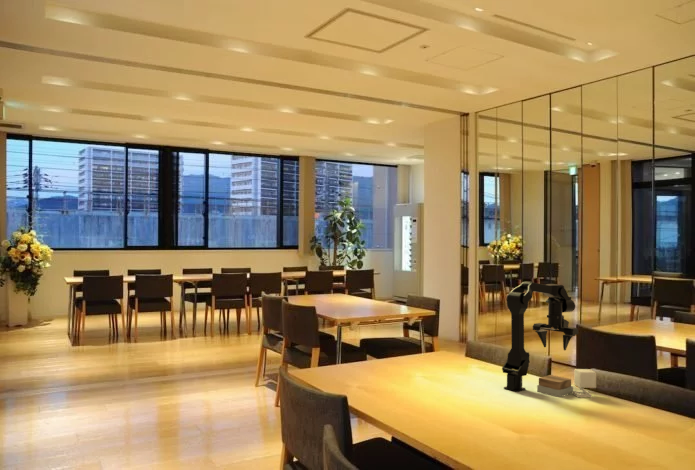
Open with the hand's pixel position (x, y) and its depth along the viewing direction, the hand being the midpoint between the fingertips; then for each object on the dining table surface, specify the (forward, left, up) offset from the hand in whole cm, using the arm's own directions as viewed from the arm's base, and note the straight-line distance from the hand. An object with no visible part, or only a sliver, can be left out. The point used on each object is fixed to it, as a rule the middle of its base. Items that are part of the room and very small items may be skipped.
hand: (554, 348), depth 249 cm
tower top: (-17, -10, -12) cm, 23 cm away
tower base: (-17, -10, -15) cm, 24 cm away
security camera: (-13, -20, -14) cm, 28 cm away
